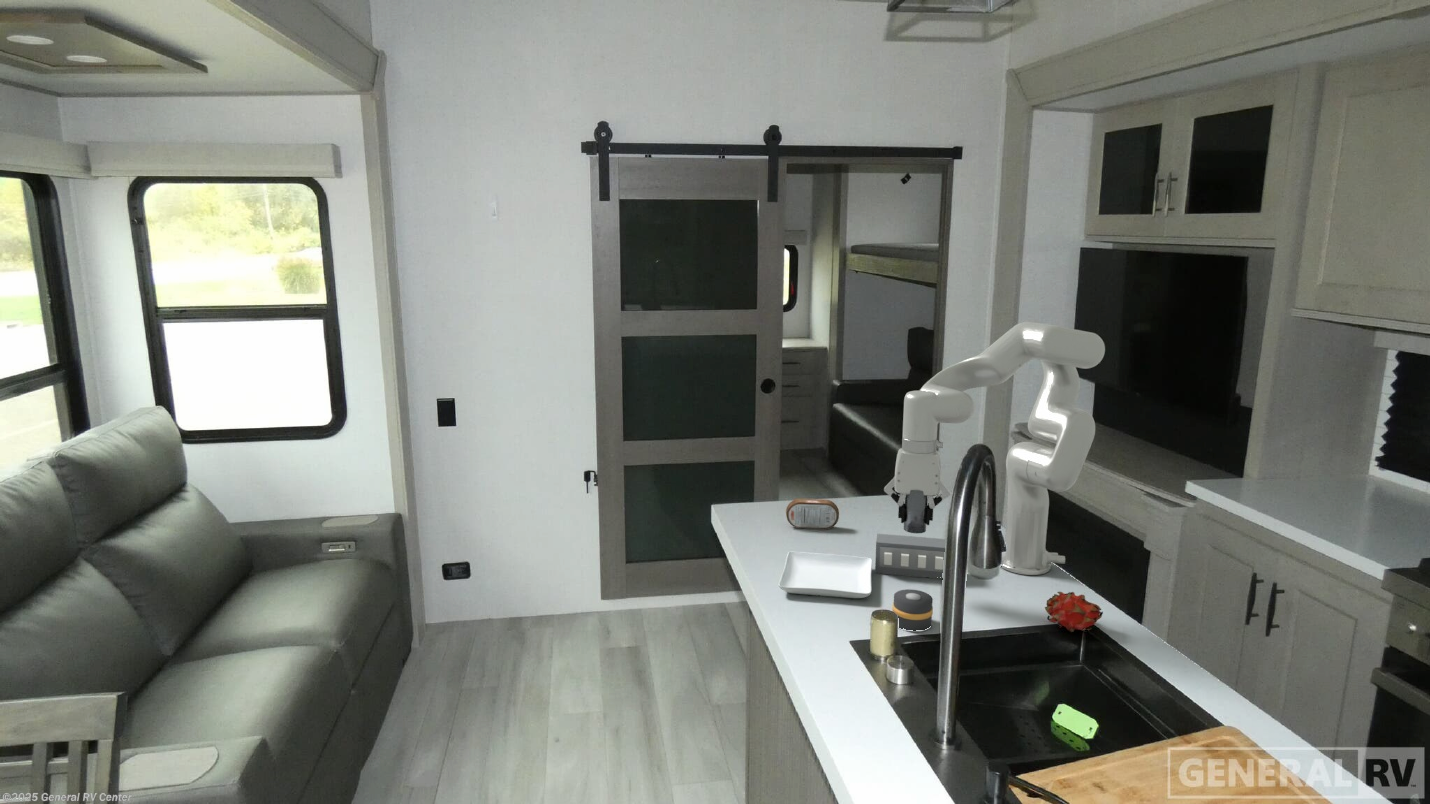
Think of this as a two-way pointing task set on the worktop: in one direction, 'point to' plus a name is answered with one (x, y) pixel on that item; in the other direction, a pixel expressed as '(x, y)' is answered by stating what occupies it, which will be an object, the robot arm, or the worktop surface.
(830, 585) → the salad plate
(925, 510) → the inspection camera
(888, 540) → the breaker panel
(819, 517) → the tin
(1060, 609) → the dragon fruit
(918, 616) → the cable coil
